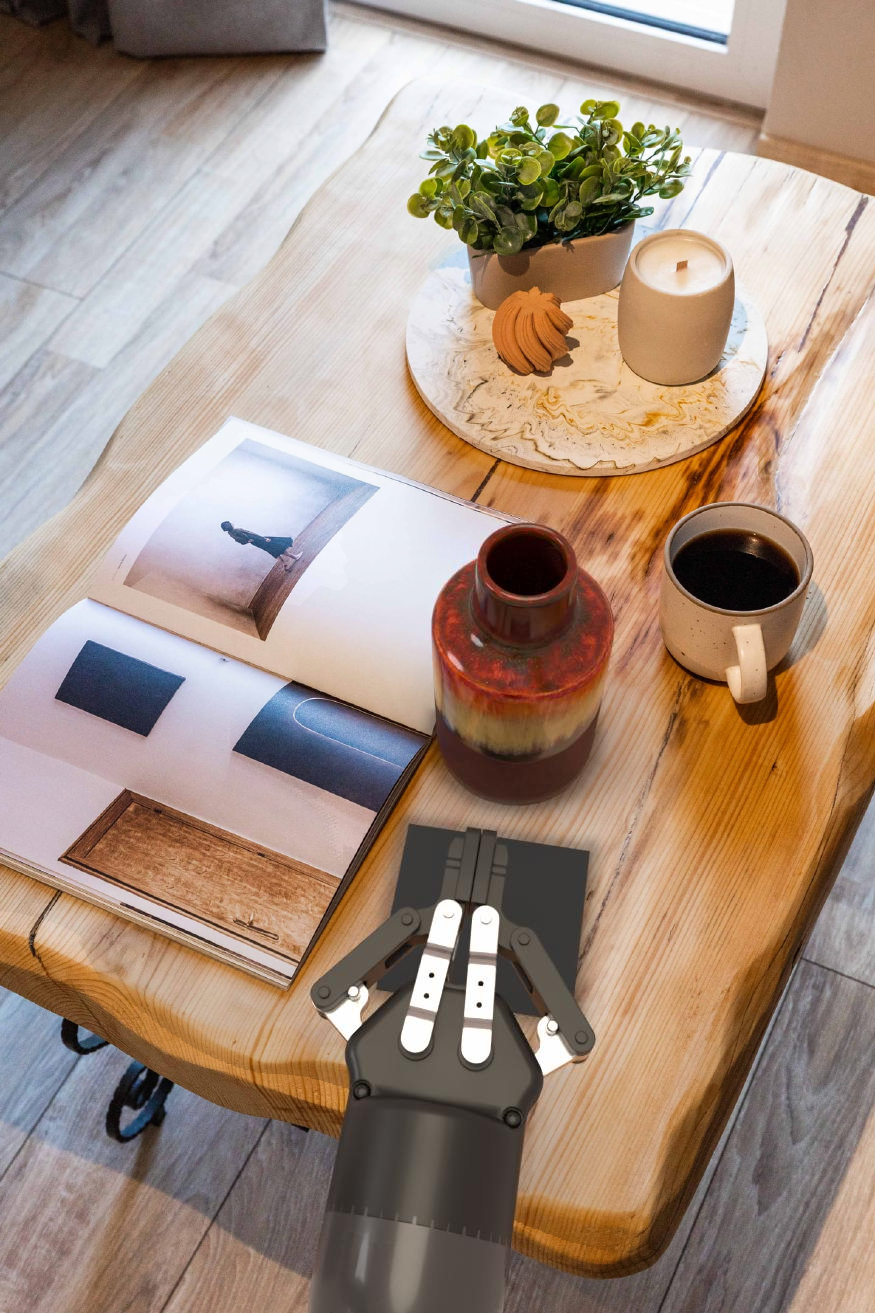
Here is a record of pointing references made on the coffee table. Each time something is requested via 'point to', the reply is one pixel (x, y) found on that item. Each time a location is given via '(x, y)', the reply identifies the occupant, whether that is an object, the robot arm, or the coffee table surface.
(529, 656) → the vase
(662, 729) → the coffee table surface
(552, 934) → the coaster
